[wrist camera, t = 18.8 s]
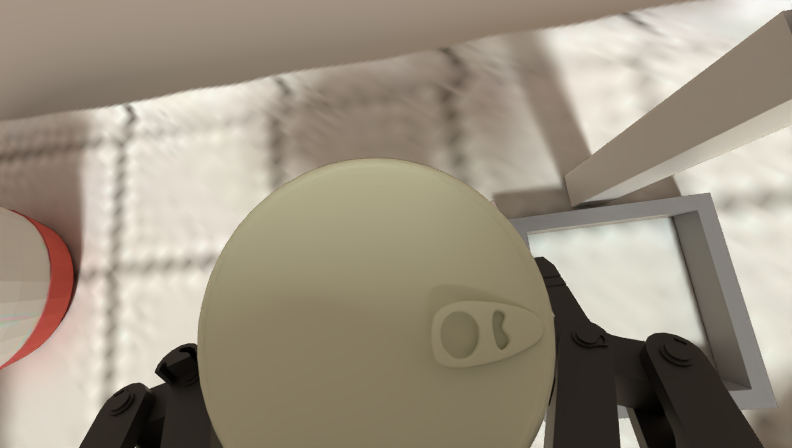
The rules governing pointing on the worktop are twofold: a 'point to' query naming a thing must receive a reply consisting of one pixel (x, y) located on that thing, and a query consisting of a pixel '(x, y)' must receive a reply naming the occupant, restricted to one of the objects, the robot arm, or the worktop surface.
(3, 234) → the citrus juicer
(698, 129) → the socket
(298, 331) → the can
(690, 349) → the robot arm
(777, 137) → the worktop surface
